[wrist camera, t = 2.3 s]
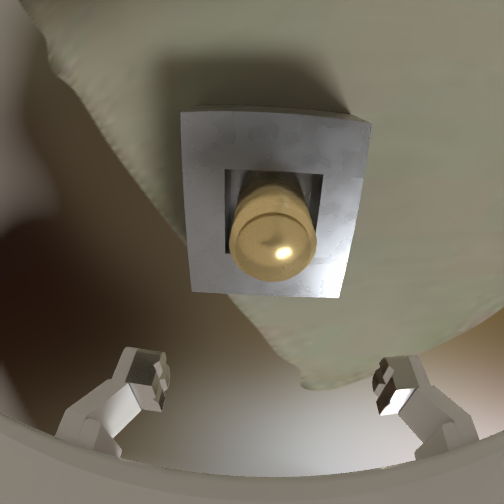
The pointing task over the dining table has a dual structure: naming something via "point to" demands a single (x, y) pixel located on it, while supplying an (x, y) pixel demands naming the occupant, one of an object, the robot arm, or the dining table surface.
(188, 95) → the dining table surface
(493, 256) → the dining table surface
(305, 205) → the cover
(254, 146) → the housing
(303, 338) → the dining table surface
